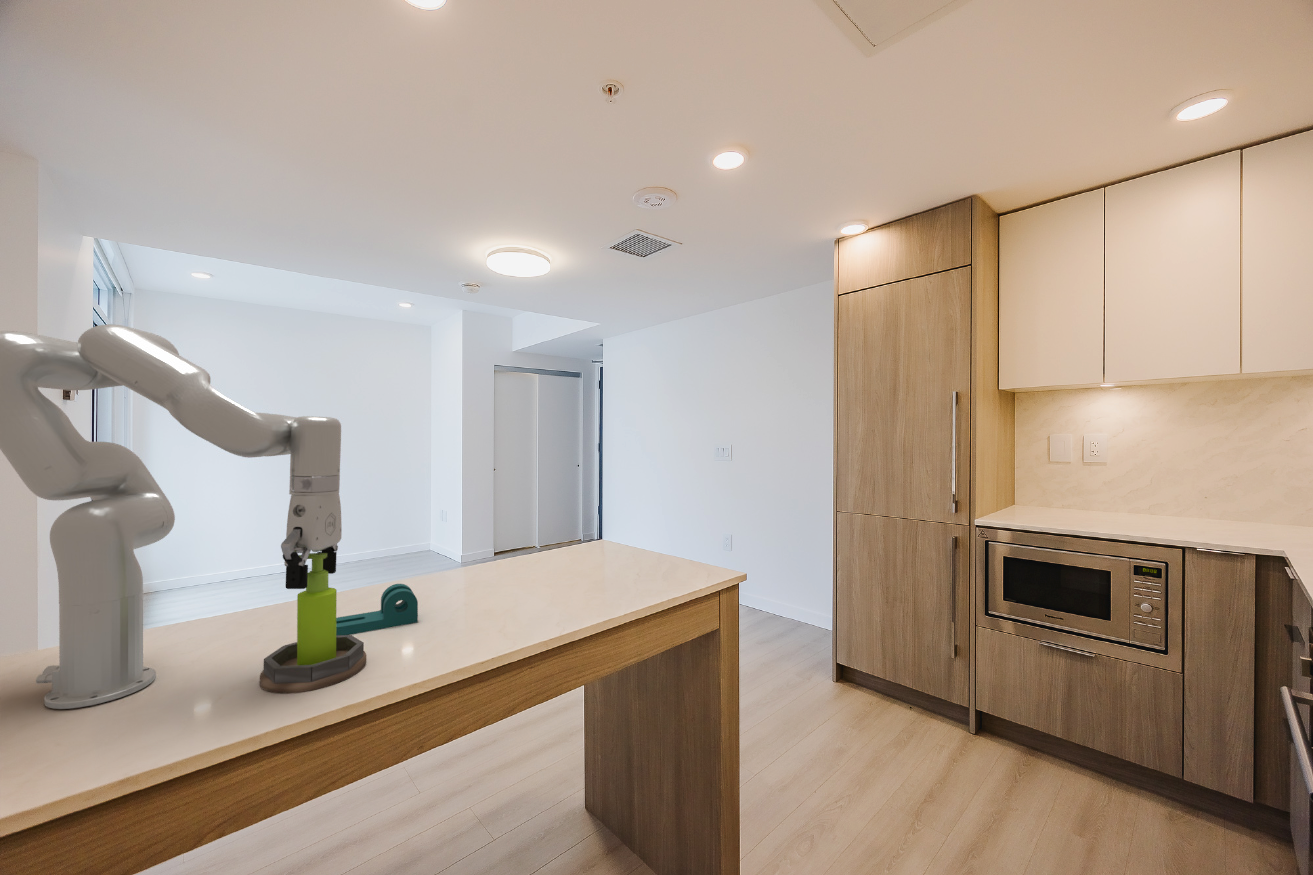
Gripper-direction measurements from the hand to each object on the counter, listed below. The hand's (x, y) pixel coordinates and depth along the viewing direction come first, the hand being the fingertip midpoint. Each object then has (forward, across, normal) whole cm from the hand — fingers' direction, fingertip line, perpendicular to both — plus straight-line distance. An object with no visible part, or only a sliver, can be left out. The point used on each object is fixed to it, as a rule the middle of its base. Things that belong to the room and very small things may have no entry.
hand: (312, 580), depth 93 cm
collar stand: (+16, 0, -1) cm, 16 cm away
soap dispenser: (+15, 0, -1) cm, 15 cm away
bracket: (+17, +22, -1) cm, 28 cm away
